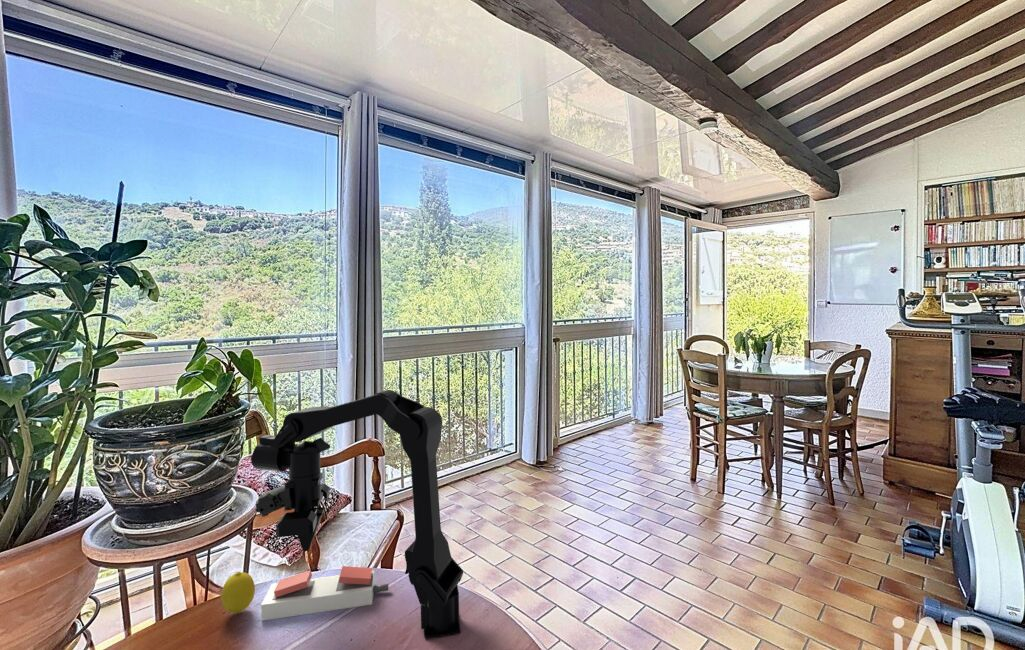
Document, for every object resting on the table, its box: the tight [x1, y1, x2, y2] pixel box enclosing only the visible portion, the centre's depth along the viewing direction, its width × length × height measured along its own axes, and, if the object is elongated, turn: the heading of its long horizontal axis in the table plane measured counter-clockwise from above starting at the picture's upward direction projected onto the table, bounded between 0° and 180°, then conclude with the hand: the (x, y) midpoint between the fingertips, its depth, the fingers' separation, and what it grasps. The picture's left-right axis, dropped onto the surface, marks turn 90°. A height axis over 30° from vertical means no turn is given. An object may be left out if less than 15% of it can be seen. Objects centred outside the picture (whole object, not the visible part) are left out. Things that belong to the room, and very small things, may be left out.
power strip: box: [260, 570, 389, 622], centre depth 92 cm, size 23×7×3 cm, turn 103°
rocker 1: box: [274, 569, 313, 598], centre depth 90 cm, size 6×4×1 cm, turn 103°
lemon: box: [220, 571, 256, 615], centre depth 88 cm, size 6×6×8 cm
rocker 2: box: [339, 565, 373, 585], centre depth 93 cm, size 6×4×1 cm, turn 103°
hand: (306, 550), depth 91 cm, fingers closed
